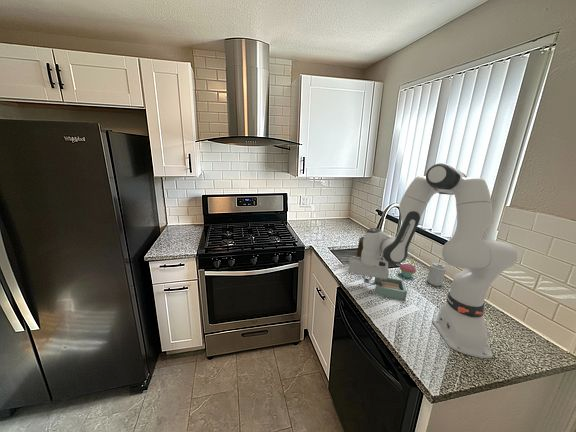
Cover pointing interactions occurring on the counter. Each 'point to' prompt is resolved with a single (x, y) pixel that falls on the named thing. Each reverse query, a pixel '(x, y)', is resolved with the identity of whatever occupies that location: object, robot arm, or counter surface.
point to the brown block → (388, 284)
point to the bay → (391, 289)
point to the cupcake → (407, 269)
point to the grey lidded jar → (436, 273)
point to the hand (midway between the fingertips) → (366, 282)
